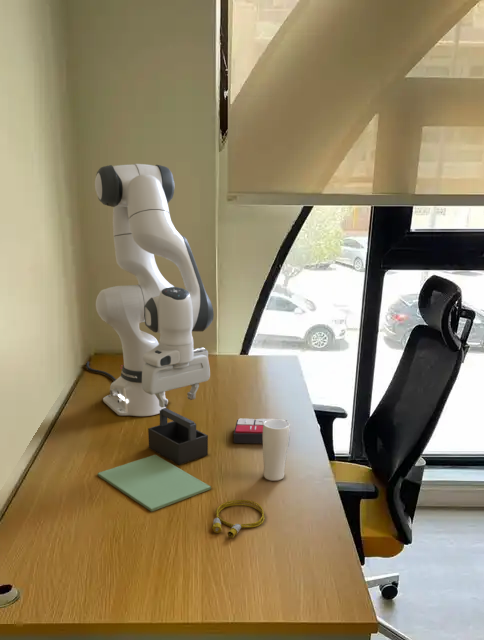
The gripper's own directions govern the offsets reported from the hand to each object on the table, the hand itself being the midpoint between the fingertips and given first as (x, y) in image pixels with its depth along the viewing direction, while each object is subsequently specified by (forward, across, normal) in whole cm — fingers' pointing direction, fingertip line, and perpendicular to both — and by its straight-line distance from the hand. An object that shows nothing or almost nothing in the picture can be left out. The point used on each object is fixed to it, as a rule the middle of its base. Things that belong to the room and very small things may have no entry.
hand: (177, 402), depth 185 cm
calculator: (+15, -25, +6) cm, 30 cm away
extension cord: (+15, +12, +37) cm, 42 cm away
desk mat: (+15, +16, +10) cm, 24 cm away
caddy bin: (+15, 0, 0) cm, 15 cm away
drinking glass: (+15, -10, +27) cm, 33 cm away
